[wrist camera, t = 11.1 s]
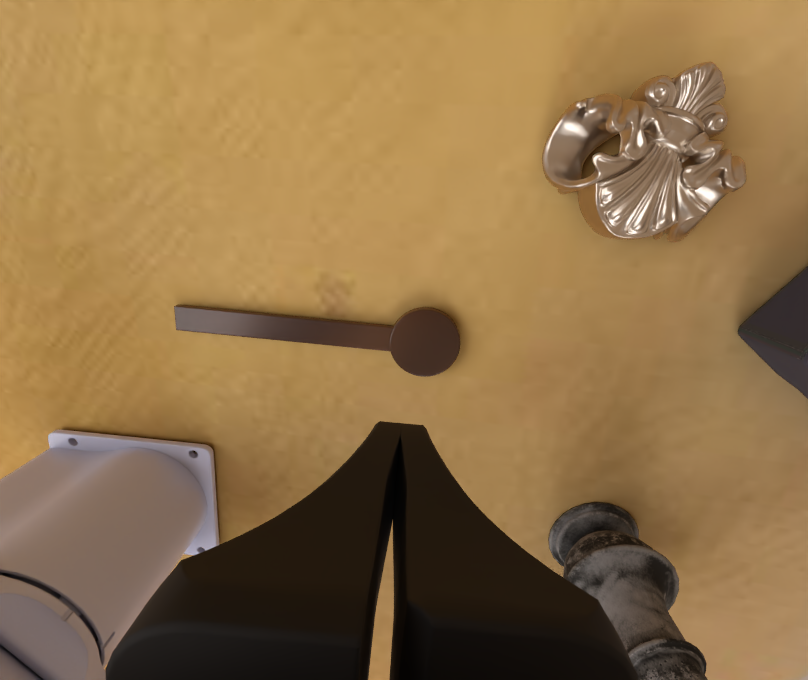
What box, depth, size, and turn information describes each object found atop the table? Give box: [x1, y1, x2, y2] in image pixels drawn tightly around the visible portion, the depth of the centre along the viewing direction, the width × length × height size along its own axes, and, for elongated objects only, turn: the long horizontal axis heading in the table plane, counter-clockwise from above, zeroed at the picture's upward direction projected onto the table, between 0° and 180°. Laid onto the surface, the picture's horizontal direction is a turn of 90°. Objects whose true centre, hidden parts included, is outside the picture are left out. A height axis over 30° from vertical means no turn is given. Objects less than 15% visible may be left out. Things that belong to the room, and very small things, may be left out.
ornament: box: [542, 62, 746, 242], centre depth 16 cm, size 8×7×4 cm
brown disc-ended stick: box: [174, 305, 460, 376], centre depth 21 cm, size 15×4×1 cm, turn 85°
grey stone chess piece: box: [549, 502, 707, 680], centre depth 19 cm, size 6×6×12 cm
